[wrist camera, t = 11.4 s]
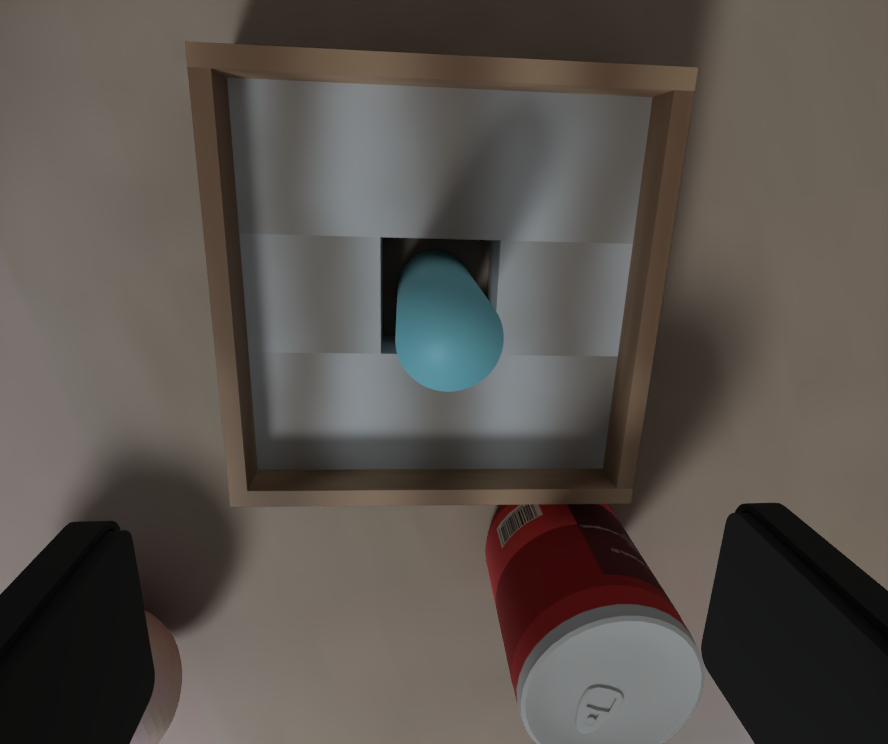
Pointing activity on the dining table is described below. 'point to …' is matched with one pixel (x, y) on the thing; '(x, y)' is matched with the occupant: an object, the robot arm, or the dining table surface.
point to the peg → (445, 324)
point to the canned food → (588, 629)
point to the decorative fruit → (160, 684)
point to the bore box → (434, 217)
